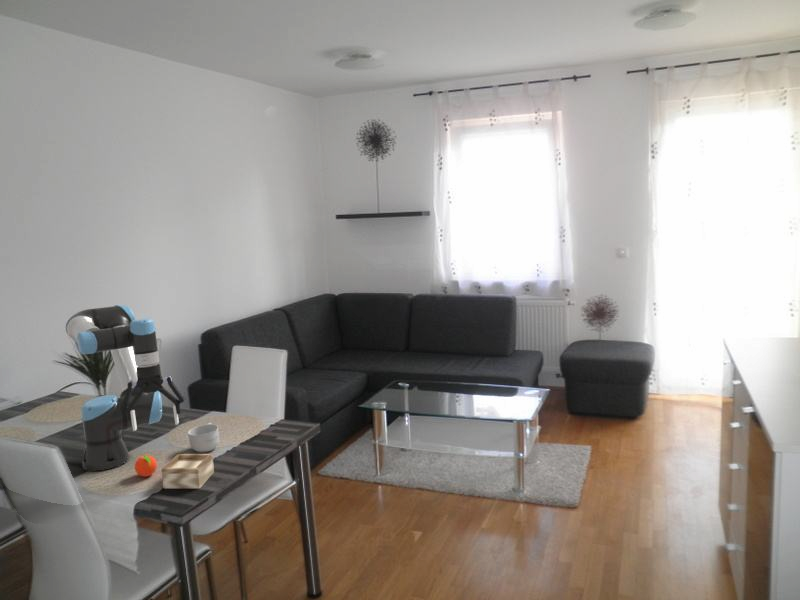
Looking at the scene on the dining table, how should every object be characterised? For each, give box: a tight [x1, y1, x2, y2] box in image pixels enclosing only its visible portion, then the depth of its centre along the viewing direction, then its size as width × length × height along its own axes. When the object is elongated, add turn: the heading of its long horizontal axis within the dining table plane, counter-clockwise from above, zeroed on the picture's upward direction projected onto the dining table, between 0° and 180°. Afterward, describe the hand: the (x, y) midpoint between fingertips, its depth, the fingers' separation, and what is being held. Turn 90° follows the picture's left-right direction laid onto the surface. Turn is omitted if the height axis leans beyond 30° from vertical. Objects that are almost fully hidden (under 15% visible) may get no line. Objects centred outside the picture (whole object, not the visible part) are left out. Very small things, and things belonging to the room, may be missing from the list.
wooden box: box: [161, 453, 215, 489], centre depth 206 cm, size 12×12×6 cm
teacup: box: [187, 422, 220, 453], centre depth 233 cm, size 14×11×8 cm
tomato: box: [134, 454, 158, 477], centre depth 211 cm, size 8×7×7 cm
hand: (156, 426), depth 212 cm, fingers open, 13 cm apart
